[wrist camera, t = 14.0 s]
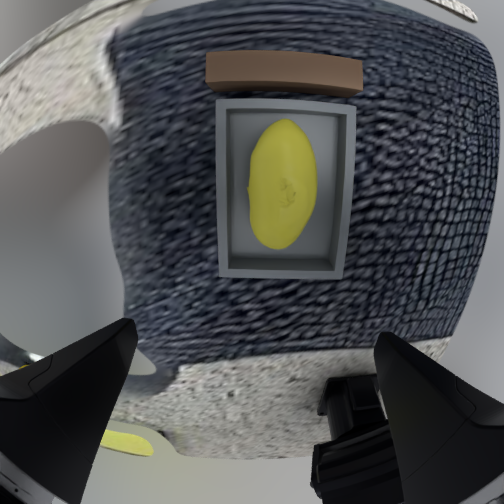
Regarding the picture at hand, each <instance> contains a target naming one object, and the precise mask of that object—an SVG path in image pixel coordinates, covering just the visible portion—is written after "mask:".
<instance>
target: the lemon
mask: <svg viewBox="0 0 504 504" xmlns="http://www.w3.org/2000/svg"><path fill="white" fill-rule="evenodd" d="M247 191H248V194H249V200H250V223H251V227H252V230H253V233H254V235H255V236H256V238H257V239H258V240H259V242H261V243H262V244H263V245H265V246H267V247H269V248H271V249H283V248H286V247H288V246H289V245H291V244H292V243H293V242H294V241H295V240H296V239H297V238H298V237H299V235H300V234H301V232H302V231H303V229H304V227H305V225H306V224H307V222H308V220H309V219H310V216H311V214H312V212H313V209H314V206H315V203H316V196H317V166H316V159H315V155H314V152H313V149H312V146H311V143H310V141H309V139H308V137H307V135H306V134H305V133H304V131H303V130H302V129H301V128H300V127H299V126H298V125H297V124H296V123H295V122H293V121H292V120H290V119H281V120H278V121H276V122H274V123H273V124H271V125H270V126H269V127H268V128H267V129H266V130H265V131H264V132H263V134H262V135H261V137H260V138H259V140H258V142H257V144H256V146H255V148H254V150H253V152H252V155H251V160H250V177H249V187H247Z"/></svg>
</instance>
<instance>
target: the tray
mask: <svg viewBox="0 0 504 504" xmlns="http://www.w3.org/2000/svg"><path fill="white" fill-rule="evenodd" d="M281 119H290V120H292V121H293V122H295V123H296V124H297V125H298V126H299V127H300V128H301V129H302V130H303V131H304V133H305V134H306V135H307V137H308V139H309V141H310V143H311V146H312V149H313V152H314V155H315V159H316V166H317V196H316V203H315V206H314V209H313V212H312V214H311V216H310V219H309V220H308V222H307V224H306V225H305V227H304V229H303V231H302V232H301V234H300V235H299V237H298V238H297V239H296V240H295V241H294V242H293V243H292V244H291V245H289V246H288V247H286V248H283V249H271V248H269V247H267V246H265V245H263V244H262V243H261V242H259V240H258V239H257V238H256V236H255V235H254V233H253V230H252V227H251V223H250V200H249V194H248V191H247V187H249V177H250V160H251V155H252V152H253V150H254V148H255V146H256V144H257V142H258V140H259V138H260V137H261V135H262V134H263V132H264V131H265V130H266V129H267V128H268V127H269V126H270V125H271V124H273V123H274V122H276V121H278V120H281ZM355 144H356V106H350V105H343V104H335V103H326V102H317V101H305V100H289V99H216V199H217V233H218V259H219V277H237V278H278V279H342V276H343V269H344V263H345V256H346V248H347V241H348V233H349V224H350V215H351V205H352V194H353V181H354V165H355Z"/></svg>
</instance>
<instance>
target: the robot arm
mask: <svg viewBox="0 0 504 504" xmlns="http://www.w3.org/2000/svg"><path fill="white" fill-rule="evenodd" d="M137 343H138V334H137V330H136V326H135V322H134V320H133V319H130V318H121V319H119V320H117V321H115V322H114V323H112V324H110V325H108V326H106V327H104V328H102V329H100V330H98V331H96V332H94V333H92V334H90V335H88V336H86V337H84V338H82V339H80V340H78V341H76V342H74V343H72V344H70V345H68V346H67V347H65V348H63V349H61V350H59V351H57V352H55V353H53V354H51V355H49V356H47V357H45V358H43V359H41V360H39V361H37V362H34V363H32V364H30V365H27V366H25V367H23V368H20V369H18V370H15V371H13V372H10V373H8V374H5V375H3V376H0V504H51V503H52V501H53V498H54V496H55V497H57V498H58V499H60V500H62V501H63V502H65V503H67V504H80V503H81V500H82V496H83V493H84V490H85V487H86V483H87V480H88V477H89V474H90V471H91V468H92V464H93V462H94V459H95V456H96V453H97V451H98V448H99V445H100V442H101V440H102V437H103V434H104V432H105V429H106V426H107V424H108V421H109V419H110V416H111V414H112V411H113V409H114V406H115V404H116V401H117V399H118V396H119V394H120V392H121V389H122V387H123V385H124V382H125V380H126V377H127V375H128V372H129V369H130V366H131V362H132V359H133V356H134V353H135V349H136V346H137ZM374 360H375V365H376V371H377V374H374V375H366V376H356V377H345V378H332V379H329V380H327V382H326V385H325V388H324V392H323V395H322V398H321V401H320V404H319V408H318V411H317V413H318V415H319V416H325V415H327V416H328V422H329V427H330V433H331V439H332V441H329V442H326V443H322V444H316V445H314V452H313V458H312V473H311V482H310V486H311V487H312V488H314V490H315V492H316V494H317V496H318V497H319V498H320V499H322V502H323V504H504V404H503V403H501V402H499V401H497V400H496V399H494V398H492V397H490V396H488V395H487V394H485V393H483V392H481V391H479V390H478V389H476V388H474V387H473V386H471V385H470V384H468V383H467V382H465V381H464V380H462V379H461V378H459V377H458V376H455V374H453V373H452V372H450V371H449V370H447V369H446V368H444V367H443V366H441V365H440V364H438V363H437V362H435V361H434V360H433V359H431V358H430V357H428V356H427V355H425V354H424V353H422V352H421V351H419V350H418V349H416V348H415V347H413V346H412V345H410V344H409V343H407V342H406V341H404V340H403V339H401V338H400V337H398V336H397V335H395V334H394V333H392V332H381V333H380V334H379V336H378V339H377V342H376V345H375V348H374ZM379 389H380V392H381V395H382V399H383V403H384V406H385V410H386V414H387V418H388V419H387V420H386V418H385V415H384V412H383V409H382V406H381V402H380V399H379V396H378V391H379Z"/></svg>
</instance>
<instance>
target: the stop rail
mask: <svg viewBox="0 0 504 504" xmlns="http://www.w3.org/2000/svg"><path fill="white" fill-rule="evenodd" d="M205 82H206V83H207V85H208V86H209V87H210V88H211V89H212V90H213V91H214V92H225V91H279V92H297V93H310V94H320V95H329V96H337V97H345V98H349V97H351V96H353V95H355V94H357V93H359V92H361V91H363V75H362V61H360V60H355V59H350V58H344V57H338V56H331V55H323V54H315V53H305V52H292V51H272V50H239V51H218V52H206V80H205Z"/></svg>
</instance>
